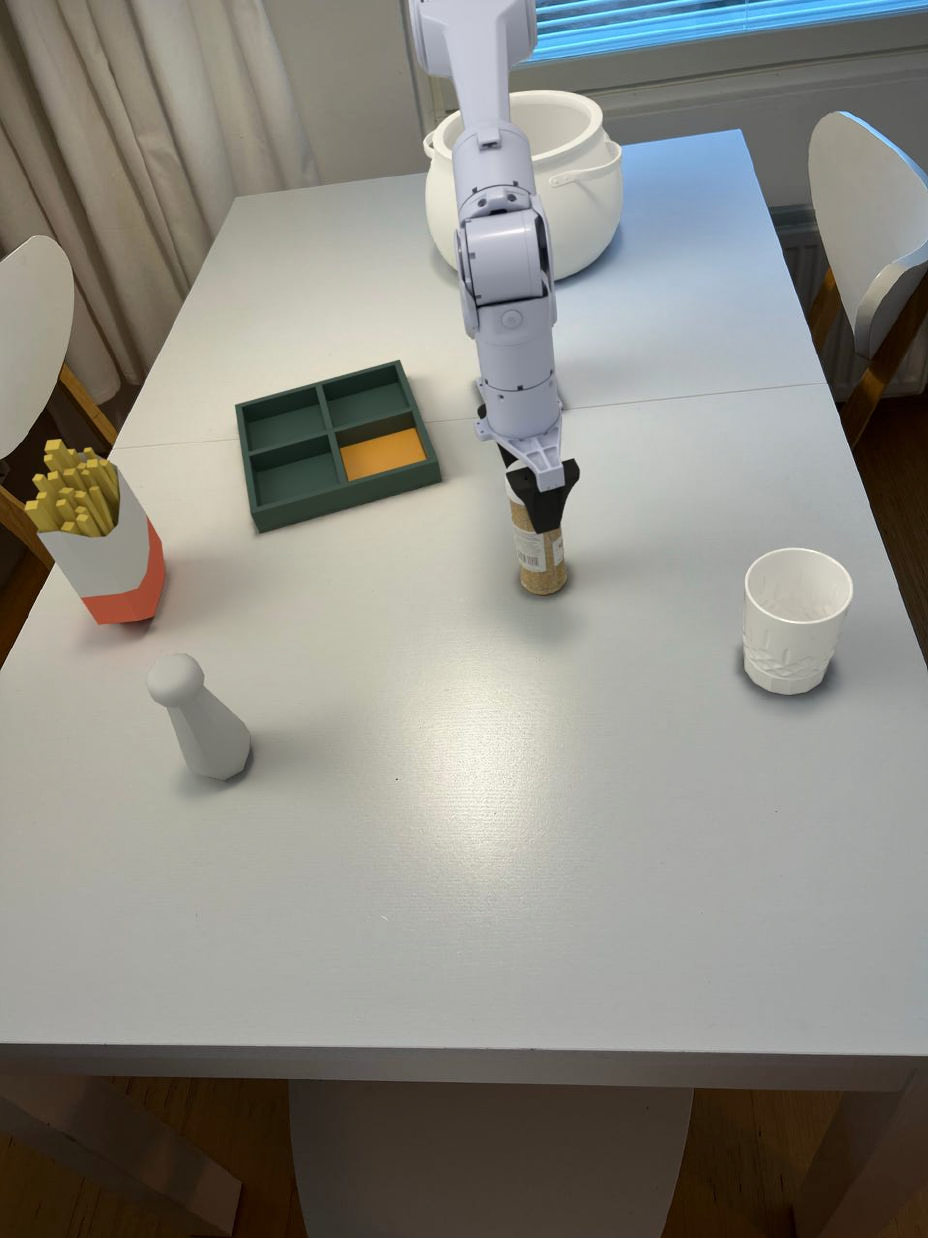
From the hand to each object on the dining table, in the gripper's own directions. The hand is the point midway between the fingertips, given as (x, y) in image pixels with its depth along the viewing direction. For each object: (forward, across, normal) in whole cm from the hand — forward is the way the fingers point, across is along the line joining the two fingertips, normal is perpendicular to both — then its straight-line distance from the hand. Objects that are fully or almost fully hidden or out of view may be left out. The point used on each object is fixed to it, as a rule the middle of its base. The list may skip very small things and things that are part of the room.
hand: (533, 500), depth 82 cm
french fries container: (+10, -13, -39) cm, 42 cm away
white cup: (+10, +17, +16) cm, 26 cm away
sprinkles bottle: (+10, 0, 0) cm, 10 cm away
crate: (+10, -28, -16) cm, 34 cm away
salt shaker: (+10, +10, -32) cm, 35 cm away
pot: (+10, -61, +17) cm, 64 cm away
